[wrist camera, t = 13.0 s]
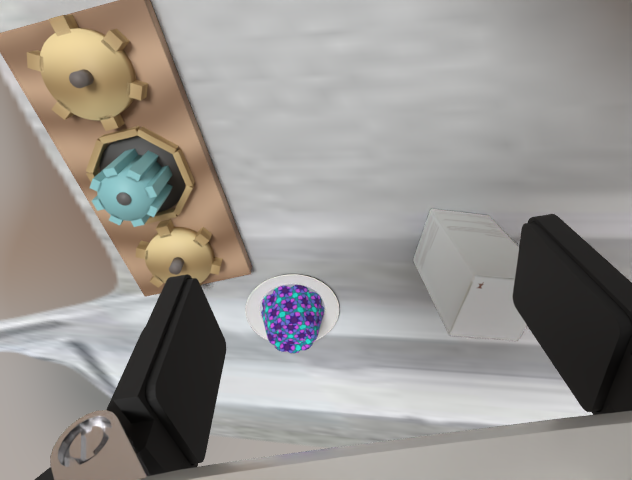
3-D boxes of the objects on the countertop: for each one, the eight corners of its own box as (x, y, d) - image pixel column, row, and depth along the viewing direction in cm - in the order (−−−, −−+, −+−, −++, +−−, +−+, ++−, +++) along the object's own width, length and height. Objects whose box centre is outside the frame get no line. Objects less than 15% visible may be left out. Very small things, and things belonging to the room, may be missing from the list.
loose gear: (102, 156, 37) (75, 177, 32) (157, 142, 36) (138, 161, 32) (130, 208, 39) (109, 233, 35) (182, 195, 39) (167, 219, 35)
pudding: (291, 354, 55) (291, 385, 50) (226, 308, 50) (219, 338, 45) (357, 308, 51) (363, 337, 46) (293, 253, 46) (293, 280, 41)
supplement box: (410, 260, 47) (445, 337, 36) (430, 206, 43) (475, 273, 32) (467, 267, 48) (518, 344, 37) (491, 214, 44) (555, 282, 33)
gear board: (2, 34, 33) (-37, 38, 29) (147, -6, 32) (127, -7, 28) (149, 288, 47) (136, 313, 43) (251, 266, 46) (248, 290, 42)
